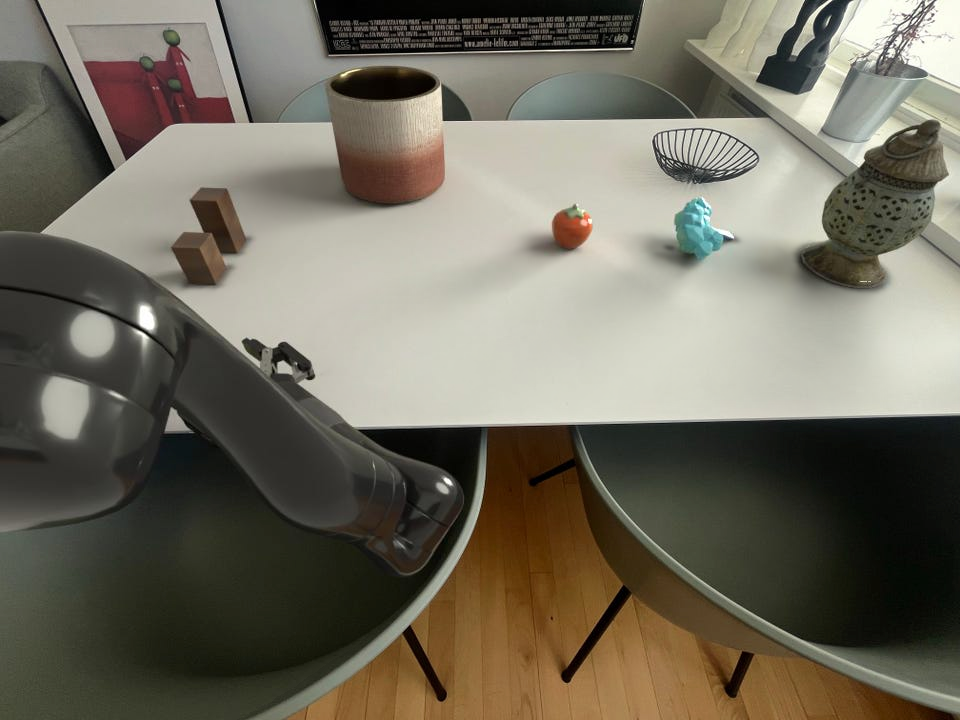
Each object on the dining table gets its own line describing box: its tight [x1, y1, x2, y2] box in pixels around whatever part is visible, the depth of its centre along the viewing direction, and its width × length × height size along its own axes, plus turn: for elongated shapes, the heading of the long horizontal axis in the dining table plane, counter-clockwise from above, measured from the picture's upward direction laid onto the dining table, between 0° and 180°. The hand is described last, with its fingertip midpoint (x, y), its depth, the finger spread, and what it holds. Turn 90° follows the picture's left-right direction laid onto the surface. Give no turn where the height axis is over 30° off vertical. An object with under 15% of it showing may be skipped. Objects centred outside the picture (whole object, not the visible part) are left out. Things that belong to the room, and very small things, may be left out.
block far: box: [189, 187, 247, 254], centre depth 83 cm, size 4×4×10 cm
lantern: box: [800, 118, 950, 289], centre depth 78 cm, size 14×14×25 cm
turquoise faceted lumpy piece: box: [673, 196, 735, 261], centre depth 89 cm, size 11×9×15 cm
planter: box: [324, 65, 446, 205], centre depth 98 cm, size 22×22×20 cm
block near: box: [170, 231, 228, 286], centre depth 78 cm, size 4×4×7 cm
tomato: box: [551, 203, 594, 249], centre depth 87 cm, size 7×7×8 cm
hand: (214, 363), depth 59 cm, fingers open, 8 cm apart
